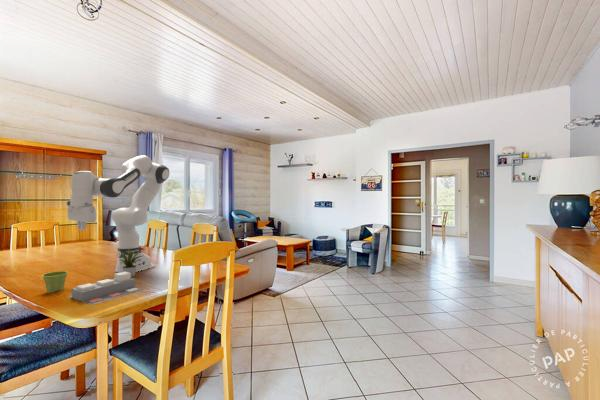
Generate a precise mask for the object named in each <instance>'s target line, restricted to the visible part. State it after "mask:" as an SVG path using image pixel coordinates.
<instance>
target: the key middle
mask: <svg viewBox="0 0 600 400" xmlns="http://www.w3.org/2000/svg"><path fill="white" fill-rule="evenodd" d="M96 283H97V285H100V286H105V285H109V284H113V283H114V280H111V279H109V278H106V279H103V280H97V281H96Z"/></svg>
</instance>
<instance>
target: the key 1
mask: <svg viewBox="0 0 600 400" xmlns="http://www.w3.org/2000/svg"><path fill="white" fill-rule="evenodd" d="M93 284H94V283H89V282H88V283H83V284H80V285H76V288H77V290H80V291H85V290H89V289H93V288H95V285H93Z"/></svg>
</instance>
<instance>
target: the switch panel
mask: <svg viewBox="0 0 600 400" xmlns="http://www.w3.org/2000/svg"><path fill="white" fill-rule="evenodd" d="M110 280H114V283H113V284H109V285H105V286H100V285H97V282H94V283H92V284H93V285H95V288H93V289H89V290H85V291H80V290H77V287H73V288H71V295H67V297H68V298H71V299H73V300H76V301H79V302H82V303H85V304H87V305H89V306H93V305H96V304H99V303H103V302H106V301H110V300H114V299H117V298H120V297H123V296H127V295H131V294H135V293H137V292H140V291H143V290H144V291H145V289H143V288H141V287H136V278H132V277H131V279H129V280H125V281H121V282H119V281H116V280H115V278H111V279H110Z"/></svg>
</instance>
